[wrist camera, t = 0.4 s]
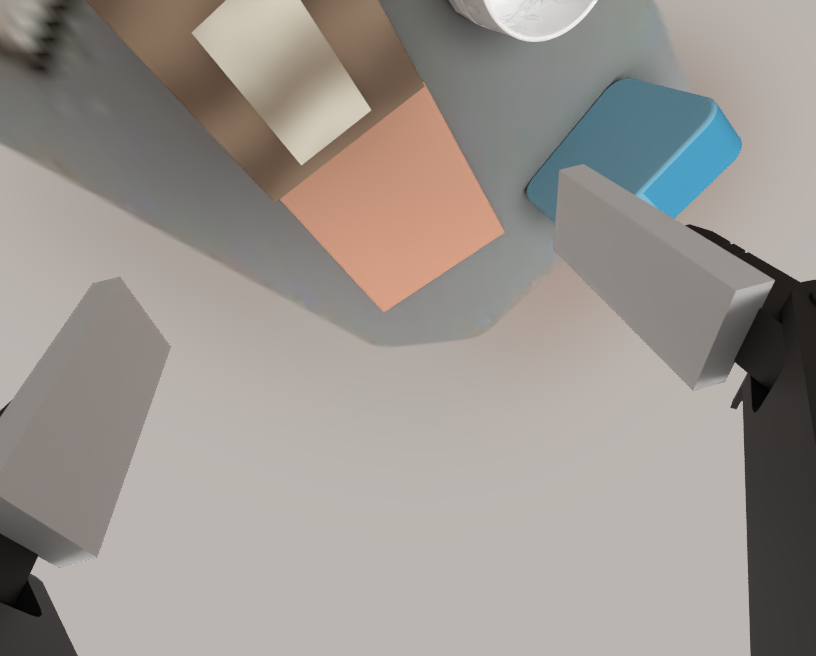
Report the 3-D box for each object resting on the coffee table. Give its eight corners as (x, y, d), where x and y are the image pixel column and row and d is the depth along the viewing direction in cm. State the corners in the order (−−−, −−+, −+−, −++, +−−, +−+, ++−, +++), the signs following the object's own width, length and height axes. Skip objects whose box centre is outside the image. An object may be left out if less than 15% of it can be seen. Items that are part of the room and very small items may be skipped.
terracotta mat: (277, 193, 36) (276, 195, 36) (421, 80, 33) (423, 81, 33) (382, 309, 46) (383, 312, 45) (502, 229, 43) (504, 232, 42)
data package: (549, 215, 43) (617, 275, 34) (519, 191, 41) (584, 249, 31) (644, 107, 38) (755, 142, 29) (617, 73, 36) (728, 100, 26)
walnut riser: (58, -58, 25) (23, -66, 22) (232, -250, 22) (221, -290, 19) (277, 185, 36) (274, 202, 33) (413, 78, 33) (424, 86, 30)
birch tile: (199, 30, 25) (191, 32, 24) (274, -40, 24) (272, -44, 22) (301, 155, 31) (301, 165, 29) (366, 102, 30) (371, 110, 28)
